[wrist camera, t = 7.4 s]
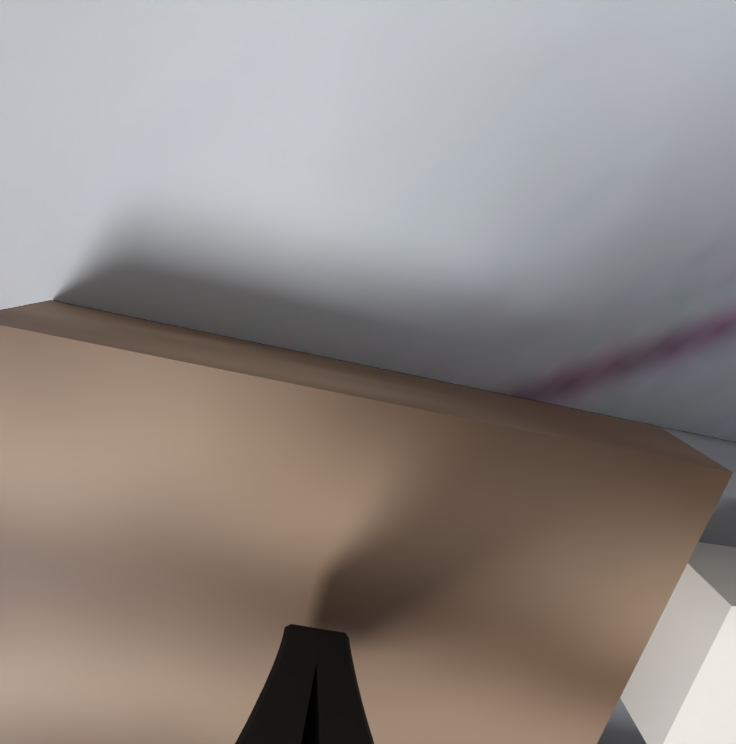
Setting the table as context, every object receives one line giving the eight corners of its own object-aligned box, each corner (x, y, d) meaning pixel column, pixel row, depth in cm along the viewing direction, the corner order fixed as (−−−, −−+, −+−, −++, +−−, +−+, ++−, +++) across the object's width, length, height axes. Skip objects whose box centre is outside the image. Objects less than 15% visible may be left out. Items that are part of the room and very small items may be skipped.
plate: (521, 739, 15) (551, 832, 13) (41, 673, 14) (-24, 762, 12) (658, 426, 12) (732, 472, 10) (50, 300, 11) (-38, 317, 8)
